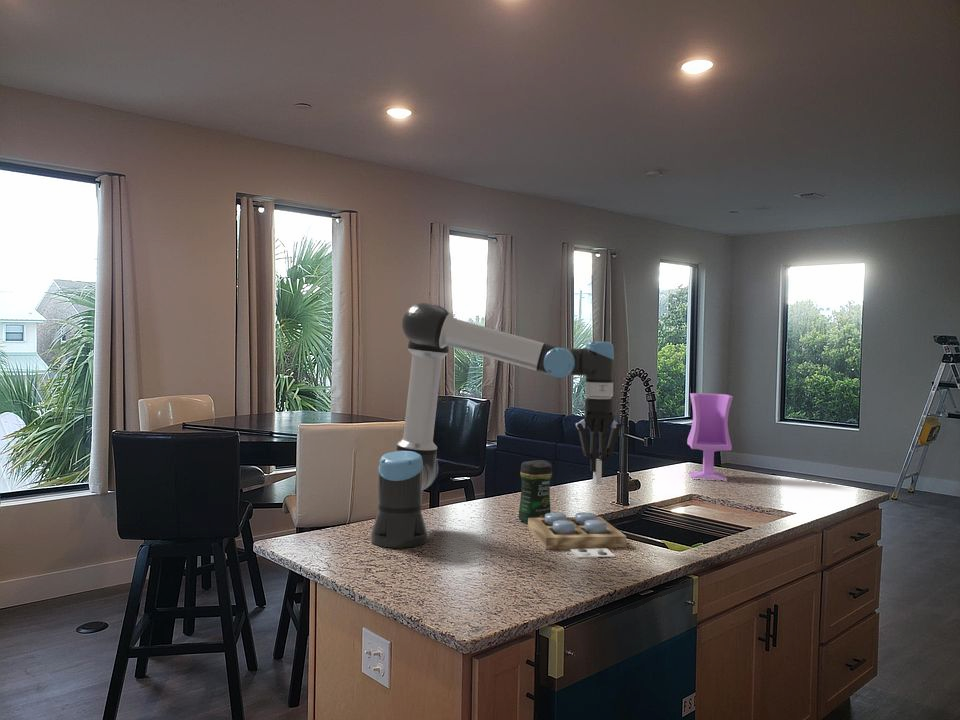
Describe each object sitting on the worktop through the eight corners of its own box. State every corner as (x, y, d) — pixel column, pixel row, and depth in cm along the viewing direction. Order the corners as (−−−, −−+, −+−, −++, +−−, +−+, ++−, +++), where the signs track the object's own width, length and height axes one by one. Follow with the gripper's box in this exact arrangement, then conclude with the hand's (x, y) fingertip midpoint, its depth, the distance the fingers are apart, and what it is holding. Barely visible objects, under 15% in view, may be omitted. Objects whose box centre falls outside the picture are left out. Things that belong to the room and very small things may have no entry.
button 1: (547, 526, 201) (547, 517, 201) (542, 521, 207) (542, 512, 207) (568, 526, 202) (568, 517, 202) (562, 521, 208) (562, 512, 208)
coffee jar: (531, 526, 213) (533, 463, 212) (514, 520, 219) (515, 460, 219) (555, 521, 218) (557, 461, 218) (538, 516, 225) (539, 457, 224)
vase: (690, 480, 294) (693, 395, 294) (686, 473, 310) (688, 392, 309) (730, 482, 292) (733, 396, 291) (724, 475, 307) (726, 394, 306)
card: (577, 558, 181) (577, 556, 181) (569, 550, 188) (569, 548, 188) (615, 557, 182) (615, 555, 182) (606, 549, 189) (606, 547, 189)
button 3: (578, 526, 203) (578, 517, 203) (572, 521, 209) (572, 512, 208) (599, 525, 204) (599, 517, 203) (592, 520, 209) (592, 512, 209)
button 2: (555, 535, 192) (556, 526, 192) (550, 529, 198) (550, 520, 198) (577, 534, 193) (577, 525, 193) (571, 529, 199) (571, 520, 199)
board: (546, 549, 188) (546, 537, 188) (527, 528, 210) (528, 517, 210) (626, 547, 192) (626, 536, 192) (600, 526, 213) (600, 516, 213)
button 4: (588, 534, 194) (588, 525, 194) (581, 529, 200) (581, 520, 200) (609, 534, 195) (609, 525, 195) (602, 528, 201) (602, 519, 201)
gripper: (580, 398, 192) (578, 486, 192) (626, 398, 194) (624, 485, 194) (572, 396, 199) (570, 481, 200) (617, 396, 201) (615, 480, 202)
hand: (597, 483), depth 197 cm, fingers closed
